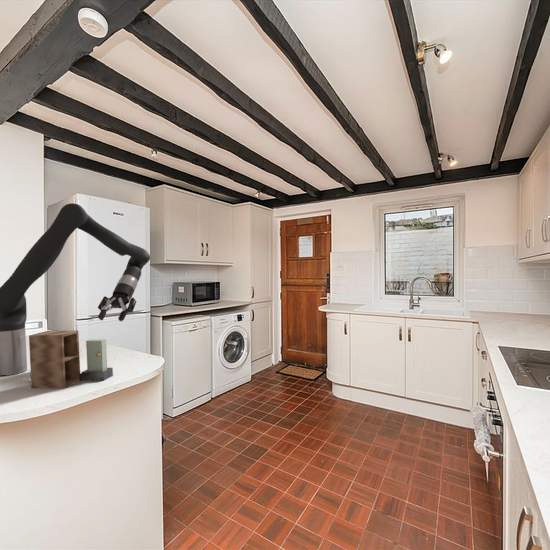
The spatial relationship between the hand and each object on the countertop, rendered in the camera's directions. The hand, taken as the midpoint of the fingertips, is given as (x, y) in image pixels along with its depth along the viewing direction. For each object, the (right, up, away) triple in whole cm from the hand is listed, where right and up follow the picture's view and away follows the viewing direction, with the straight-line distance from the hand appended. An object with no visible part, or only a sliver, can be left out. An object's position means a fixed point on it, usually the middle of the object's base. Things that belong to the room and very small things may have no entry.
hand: (110, 319), depth 124 cm
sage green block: (+2, -20, -12) cm, 23 cm away
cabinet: (-10, -20, -17) cm, 28 cm away
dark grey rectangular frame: (+2, -20, -12) cm, 23 cm away
